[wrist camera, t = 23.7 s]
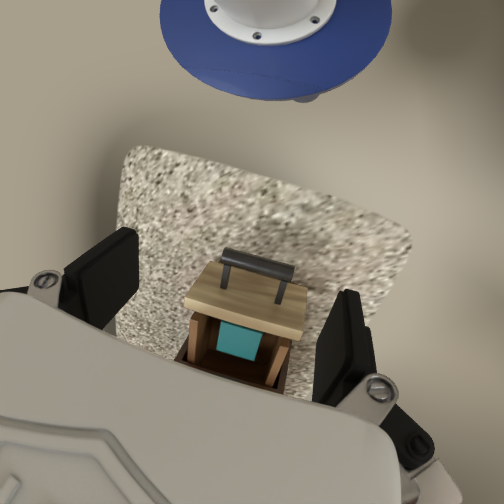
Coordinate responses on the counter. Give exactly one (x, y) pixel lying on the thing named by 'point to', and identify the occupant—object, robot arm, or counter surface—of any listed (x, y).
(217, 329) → the drawer
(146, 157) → the counter surface
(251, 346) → the block
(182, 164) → the counter surface
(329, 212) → the counter surface
